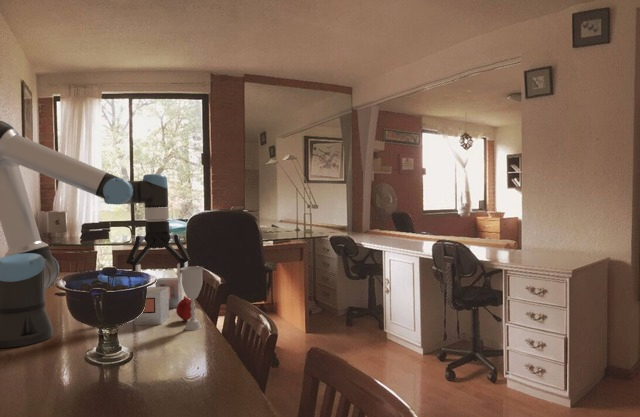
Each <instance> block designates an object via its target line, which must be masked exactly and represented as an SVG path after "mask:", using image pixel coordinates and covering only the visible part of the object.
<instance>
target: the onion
mask: <svg viewBox="0 0 640 417" xmlns="http://www.w3.org/2000/svg"><path fill="white" fill-rule="evenodd" d="M190 305H191V299H189V298H188V297H187V295H184V296H183V298H182V300H181V301H180V302H179V304H178V305H177V308H175V312H176V315H177V316H178V317H179V318H180V319H181V320H183V321H184V322H187V321H188V320H190V319H191V316H192V315H191V313H190V311H191V306H190ZM194 309H195V310H196V307H195V308H194Z"/></svg>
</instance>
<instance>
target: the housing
mask: <svg viewBox="0 0 640 417" xmlns="http://www.w3.org/2000/svg"><path fill="white" fill-rule="evenodd" d="M147 287H148V288H147V298H155V311H154V312H143V313H142V314H141V315H140V316H139V317H138V318H136V319H135V320H134V319H133V320H134V326H151V325H152V326H153V325H154V326H155V325H162V324H163V323H164V322H165V321H166V320H167V319H168V318H170V313H169V312H170V308H169V293H168V287H156V286H147Z"/></svg>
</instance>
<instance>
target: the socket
mask: <svg viewBox="0 0 640 417" xmlns="http://www.w3.org/2000/svg"><path fill="white" fill-rule="evenodd" d="M156 280H157V282H156V283H155V287H168V288H169V287H170V299H169V309H172V308H173V309H174V308H175V309H176V308H177V305H178V304H179V302H180V301H181V300H183V298H182V295H183V294H182V289H183V288H182V282H181V283H178V277H162V278H161V277H159V278H157V279H156Z"/></svg>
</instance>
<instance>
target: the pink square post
mask: <svg viewBox="0 0 640 417" xmlns="http://www.w3.org/2000/svg"><path fill="white" fill-rule="evenodd" d="M168 293H169V299H170V287H169V288H168ZM154 311H155V298H146V305H145V309H144V311H143V312H154Z"/></svg>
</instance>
